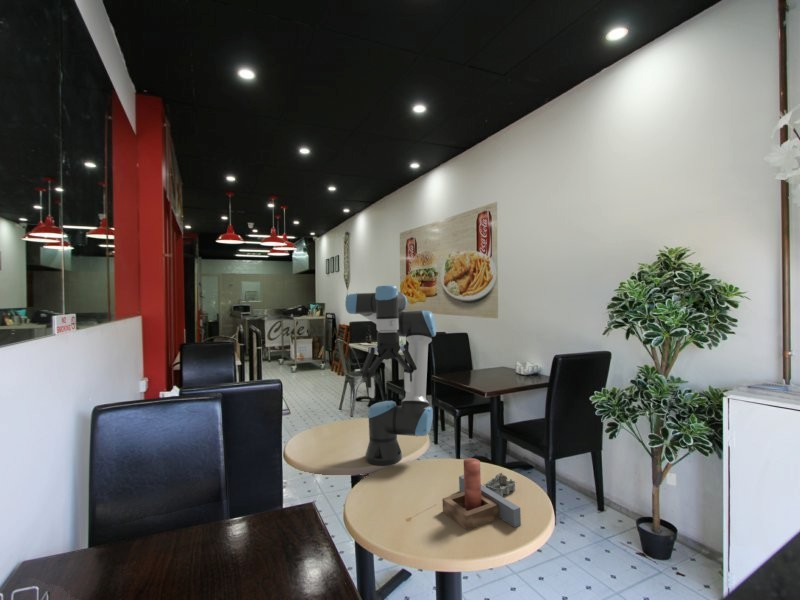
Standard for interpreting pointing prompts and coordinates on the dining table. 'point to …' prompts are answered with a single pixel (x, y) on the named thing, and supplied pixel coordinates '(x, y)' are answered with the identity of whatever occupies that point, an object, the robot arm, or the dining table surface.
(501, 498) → the backstop wall
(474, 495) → the dowel
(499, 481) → the grey rough frame
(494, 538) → the dining table surface
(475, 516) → the socket block
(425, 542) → the dining table surface
